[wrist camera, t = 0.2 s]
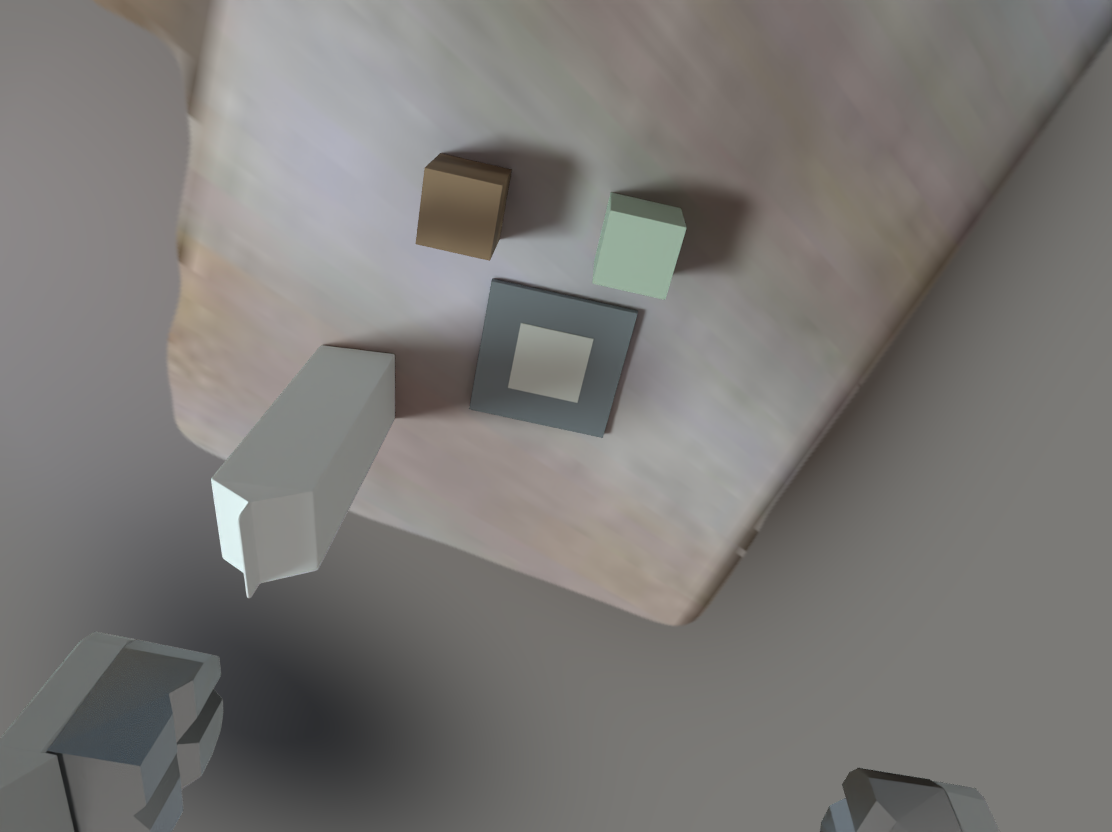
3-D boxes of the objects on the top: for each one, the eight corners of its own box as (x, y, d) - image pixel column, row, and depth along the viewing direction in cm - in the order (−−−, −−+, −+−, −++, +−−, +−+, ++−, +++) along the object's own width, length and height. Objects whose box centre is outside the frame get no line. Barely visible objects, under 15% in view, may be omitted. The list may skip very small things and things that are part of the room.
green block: (610, 192, 53) (610, 210, 48) (680, 208, 53) (686, 227, 49) (594, 260, 55) (592, 283, 51) (661, 275, 56) (665, 299, 51)
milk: (395, 353, 60) (295, 523, 41) (395, 419, 63) (302, 608, 44) (318, 344, 60) (182, 510, 41) (322, 410, 63) (197, 595, 44)
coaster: (492, 278, 56) (491, 281, 56) (637, 310, 57) (637, 314, 56) (470, 405, 62) (469, 409, 61) (602, 434, 62) (602, 438, 62)
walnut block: (440, 152, 52) (424, 167, 48) (511, 169, 53) (502, 185, 48) (431, 223, 55) (415, 244, 50) (499, 239, 55) (489, 260, 51)
